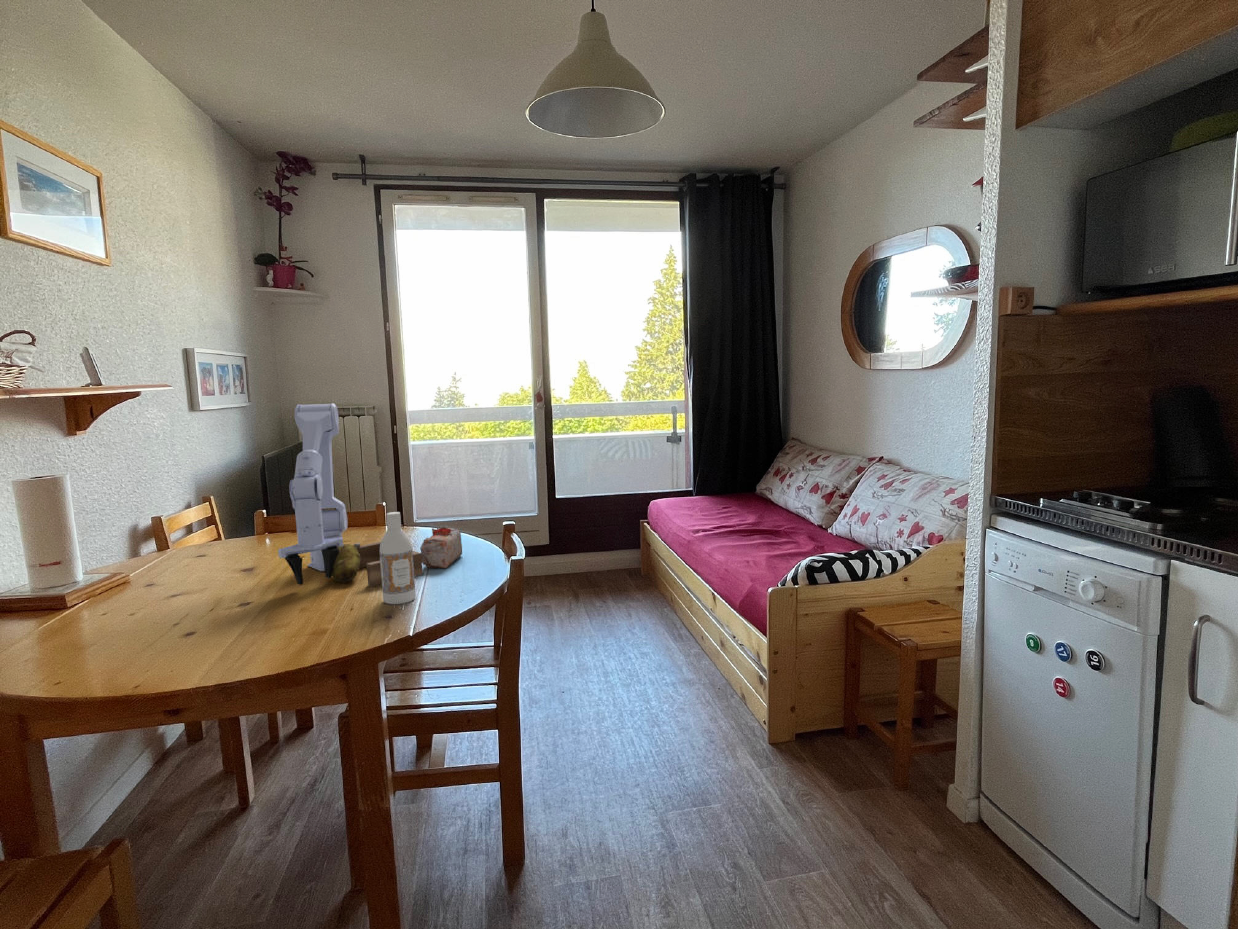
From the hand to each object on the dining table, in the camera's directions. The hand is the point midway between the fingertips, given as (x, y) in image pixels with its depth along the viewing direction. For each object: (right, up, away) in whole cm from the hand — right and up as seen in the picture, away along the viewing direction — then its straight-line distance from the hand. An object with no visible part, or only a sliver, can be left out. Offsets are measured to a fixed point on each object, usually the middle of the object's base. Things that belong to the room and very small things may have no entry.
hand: (314, 580), depth 157 cm
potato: (+5, -1, +7) cm, 8 cm away
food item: (+26, +1, +19) cm, 32 cm away
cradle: (+12, 0, +11) cm, 16 cm away
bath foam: (+25, -3, -11) cm, 27 cm away
